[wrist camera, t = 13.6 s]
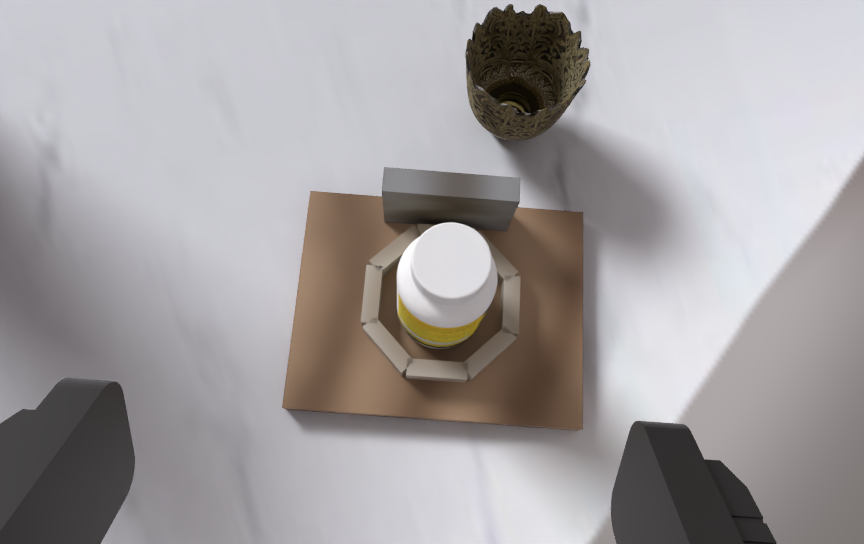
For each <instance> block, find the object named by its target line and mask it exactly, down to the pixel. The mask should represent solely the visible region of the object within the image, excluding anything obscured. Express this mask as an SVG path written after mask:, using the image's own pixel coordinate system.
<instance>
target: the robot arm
mask: <svg viewBox="0 0 864 544" xmlns="http://www.w3.org/2000/svg"><path fill="white" fill-rule="evenodd" d="M134 466H135V456H134V449H133V444H132V438H131V433H130V428H129V422H128V417H127V411H126V406H125V400H124V395H123V391H122V388H121V386H120V385H119V383H117V382H114V381H100V380H86V379H73V378H65V379H63V380H61V381H60V382H59V383H58V384H57V385H56V386H55V387H54V388H53V389H52V390H51V392H50V393H49V394H48V395H47V396H46V398H45V399H44V400H43V401H42V403H41V404H40V405H39V406H38V407H37V409H36V410H26V409H22V410H21V411H19V412H18V413H16V414H15V415H13V416H11V417H10V418H8V419H7V420H5V421H4V422H2V423H1V424H0V544H101V542H102V540H103V538H104V536H105V534H106V533H107V531H108V529H109V527H110V525H111V524H112V522H113V520H114V518H115V516H116V514H117V513H118V511H119V509H120V507H121V505H122V504H123V502H124V500H125V498H126V496H127V494H128V492H129V489H130V486H131V483H132V479H133V474H134ZM611 519H612V526H613V532H614V536H615V539H616V543H617V544H776V541H775V539H774V537H773V535H772V534H771V532H770V530H769V528H768V526H767V524H764V523H763V516H762V515H761V513H760V511H759V509H758V507H757V505H756V503H755V501H754V500H753V498H752V496H751V494H750V492H749V490H748V488H747V487H746V486H745V485H744V484H743V483H742V482H741V481H740V480H739V479H738V478H737V477H736V476H735V475H734V474H733V473H732V472H731V471H730V470H729V469H728V468H727V467H726V466H725V465H724V464H723V463H722V462H721V461H718V460H704V458H703V456H702V454H701V452H700V450H699V448H698V446H697V443H696V441H695V439H694V437H693V435H692V433H691V431H690V430H689V428H688V427H687V426H686V425H684V424H673V423H660V422H646V421H636V422H634V423H633V425H632V427H631V429H630V432H629V435H628V439H627V442H626V446H625V449H624V453H623V456H622V460H621V463H620V467H619V470H618V474H617V477H616V481H615V484H614V488H613V492H612V500H611Z"/></svg>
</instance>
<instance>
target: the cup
mask: <svg viewBox="0 0 864 544" xmlns="http://www.w3.org/2000/svg"><path fill="white" fill-rule="evenodd" d="M581 42H582V40H581V31H578V32H576V33H573V31H572V30H571V24H570V22H569V21H568V19H567V17H566V16H565V14H564V13H563V12H548V11H547V8H546V7H545V6H543V5H541V4H539V5H537V6H536V7H535V9H534V11H533V12H532V13H531V14H528V13H525V12H524V11H521V12H519V13H515V11H514V10H513V5H512V4H509V5H508V6H506V8H505V9H504V11H502V10H500V9H498V8H497V7H494V8H493V9H491V10H490V11H489V13H488V14H487V16H486V18H485V20H484V22H483V24H482V25H480V24H479V23H476V25H475V27H474V30H473V37H472V40H471V39H469V40H468V42H467V49H466V53H465V56H466V75H467V91H468V98H469V102H470V106H471V109H472V111H473V113H474V115H475V117H476V118H477V120H478V121H479V123H480V124H481V125H482V126H483V127H484V128H485V129H486V130H488V131H489V132H491V133H492V134H493V135H495V136H496V137H498V138H500V139H502V140H507V141H514V140H525V139H529V138H533V137H535V136H538V135H540V134H542V133H543V132H545V131H546V130H548V129H549V128H550V127H551V126H552V125H553V124H554V123H555V122H556V121H557V120H558V119H559V118H560V117H561V115H562V114H563V113H564V112H565V110H566V109H567V107H568V106H569V105H570V103H571V102H572V100H573V99H574V98H575V96H576V95H577V93H578V92H579V90H580V89H581V88H582V87H583V86H584V84H585V82H586V80H585V77H586V75H587V73H588V71H589V67H590V61H588V59H589V58H588V54H589V49H587V48H584V47H583V48H580V46H581Z"/></svg>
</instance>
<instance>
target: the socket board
mask: <svg viewBox="0 0 864 544" xmlns="http://www.w3.org/2000/svg"><path fill="white" fill-rule="evenodd" d="M519 202H520V178H513V177H501V176H488V175H475V174H463V173H450V172H438V171H425V170H412V169H400V168H387V167H384V174H383V184H382V197H379V196H366V195H354V194H341V193H328V192H315V191H310V199H309V207H308V214H307V222H306V230H305V237H304V245H303V253H302V260H301V268H300V276H299V283H298V291H297V299H296V306H295V314H294V322H293V329H292V337H291V345H290V352H289V360H288V368H287V375H286V383H285V391H284V398H283V406H282V408H284V409H288V410H302V411H316V412H330V413H343V414H357V415H371V416H385V417H399V418H413V419H427V420H441V421H455V422H469V423H483V424H497V425H510V426H524V427H538V428H552V429H566V430H581V429H583V212H570V211H558V210H545V209H532V208H519V207H518V204H519ZM449 222H452V223H460V224H464V225H466V226H469V227H471V228H473V229H474V230H476V231H477V232H478V233H479V234H480V235H481V236H482V237H483V238H484V239H485V241H486V242H487V244H488V246H489V249H490V251H491V255H492V257H493V259H494V262H495V265H496V269H497V288H496V292H495V295H494V298H493V301H492V303H491V305H490V306H489V308H488V310H487V312H486V314H485V316H484V318H483V320H482V321H481V323H480V325H479V327H478V328H477V330H476V331H475V333H474V334H473V335H472V336H471V337H470V338H469V339H468V340H466V341H465V342H463V343H462V344H460V345H457V346H455V347H451V348H447V349H434V348H429V347H426V346H423V345H421V344H419V343H417V342H416V341H414V340H413V339H412V338H411V337H410V336H409V335H408V334H407V333H406V332H405V330H404V329H403V327H402V325H401V323H400V321H399V318H398V314H397V269H398V265H399V261H400V259H401V257H402V255H403V253H404V251H405V250H406V249H407V247H408V246H409V245H410V244H411V243H412V242H413V241H414V240H415V239H417V238H418V237H420V236H421V235H422V234H423V233H424V232H425V231H426V230H428V229H429V228H431V227H433V226H435V225H438V224H441V223H449Z"/></svg>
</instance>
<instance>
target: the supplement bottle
mask: <svg viewBox="0 0 864 544" xmlns="http://www.w3.org/2000/svg"><path fill="white" fill-rule="evenodd" d="M496 288H497V269H496V265H495V262H494V259H493V257H492V255H491V251H490V249H489V246H488V244H487V242H486V241H485V239H484V238H483V237H482V236H481V235H480V234H479V233H478V232H477V231H476V230H474V229H473V228H471V227H469V226H466V225H464V224H460V223H452V222H449V223H441V224H438V225H435V226H433V227H431V228H429V229H428V230H426V231H425V232H424V233H423V234H422V235H421V236H420V237H418V238H417V239H415V240H414V241H413V242H412V243H411V244H410V245H409V246H408V247H407V249H406V250H405V251H404V253H403V255H402V257H401V259H400V261H399V265H398V269H397V314H398V318H399V321H400V323H401V325H402V327H403V329H404V330H405V332H406V333H407V334H408V335H409V336H410V337H411V338H412V339H413V340H414V341H416V342H417V343H419V344H421V345H423V346H426V347H429V348H434V349H447V348H451V347H455V346H457V345H460V344H462V343H463V342H465V341H466V340H468V339H469V338H470V337H471V336H472V335H473V334H474V333H475V331H476V330H477V328H478V327H479V325H480V323H481V321H482V320H483V318H484V316H485V314H486V312H487V310H488V308H489V306H490V305H491V303H492V301H493V298H494V295H495V292H496Z"/></svg>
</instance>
